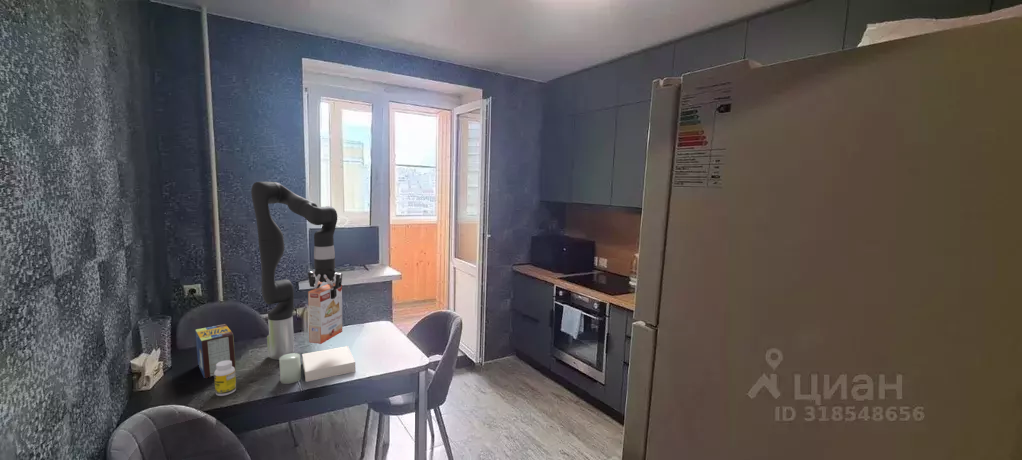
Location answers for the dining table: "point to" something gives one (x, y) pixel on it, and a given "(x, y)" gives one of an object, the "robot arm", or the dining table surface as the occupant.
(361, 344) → the dining table surface
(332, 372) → the block
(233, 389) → the pill bottle
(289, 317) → the robot arm
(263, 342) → the dining table surface
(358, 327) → the dining table surface
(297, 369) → the pale green rounded block
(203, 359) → the protein box
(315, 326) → the cracker box
